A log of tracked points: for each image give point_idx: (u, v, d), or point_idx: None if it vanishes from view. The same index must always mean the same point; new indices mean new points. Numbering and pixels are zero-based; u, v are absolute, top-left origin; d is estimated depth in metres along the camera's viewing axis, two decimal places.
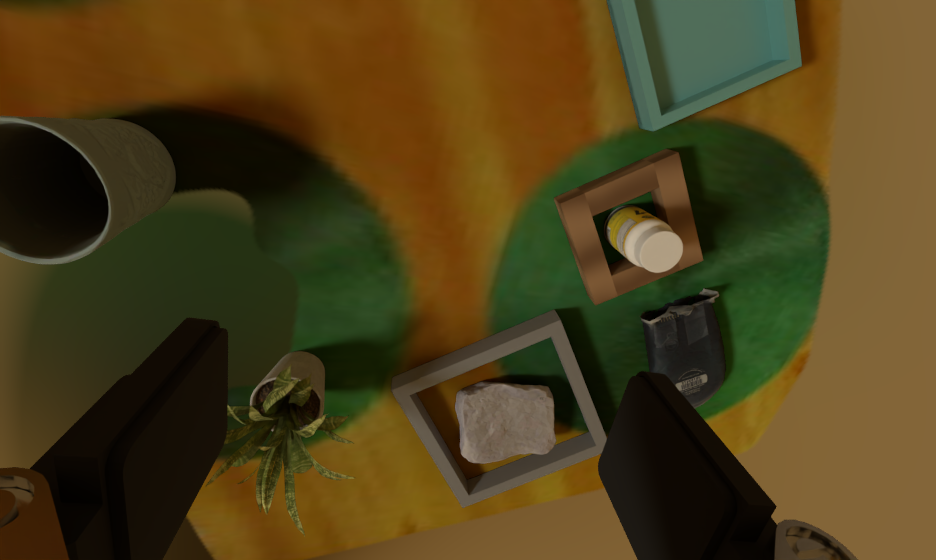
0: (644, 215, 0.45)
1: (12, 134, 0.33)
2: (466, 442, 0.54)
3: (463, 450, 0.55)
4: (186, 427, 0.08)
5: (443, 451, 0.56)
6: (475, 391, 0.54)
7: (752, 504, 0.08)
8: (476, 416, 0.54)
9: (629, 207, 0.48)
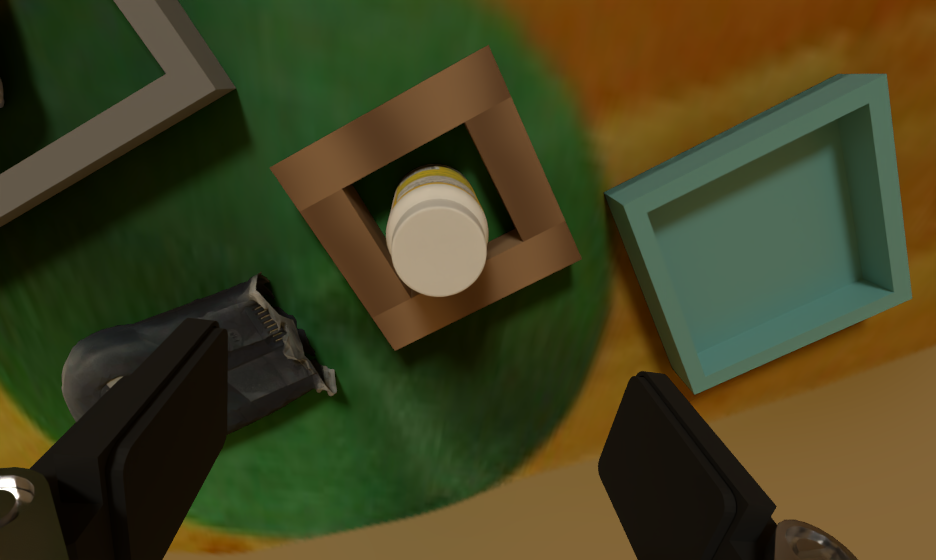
0: None
1: None
2: None
3: None
4: (186, 427, 0.08)
5: None
6: None
7: (752, 504, 0.08)
8: None
9: None
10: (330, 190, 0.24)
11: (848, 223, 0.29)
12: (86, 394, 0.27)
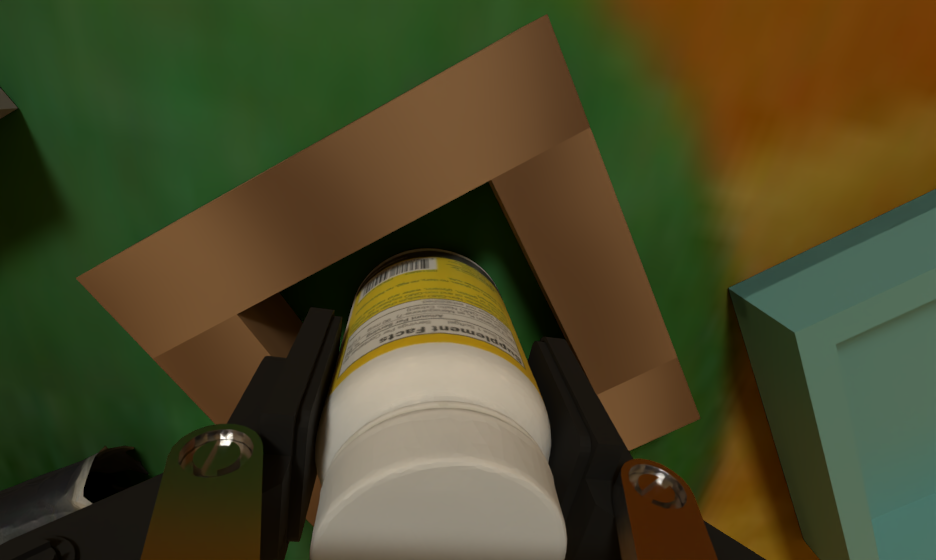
0: None
1: None
2: None
3: None
4: (324, 400, 0.10)
5: None
6: None
7: (603, 444, 0.08)
8: None
9: None
10: (213, 317, 0.12)
11: None
12: None
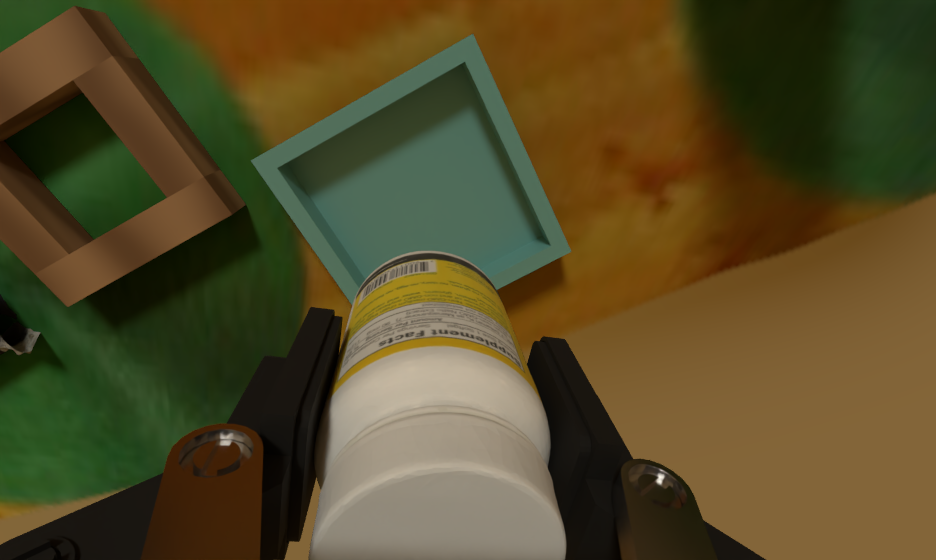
0: None
1: None
2: None
3: None
4: (324, 399, 0.10)
5: None
6: None
7: (603, 444, 0.08)
8: None
9: None
10: None
11: (511, 182, 0.31)
12: None
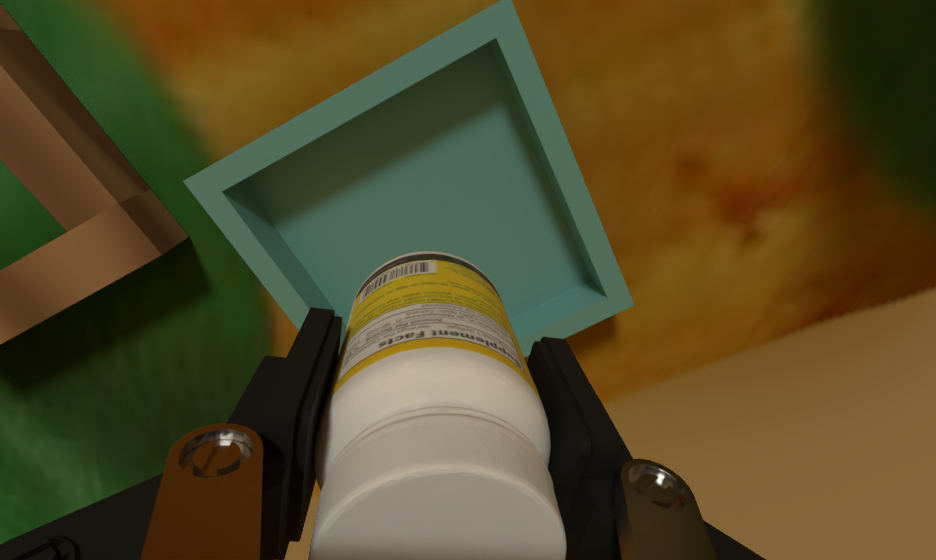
0: None
1: None
2: None
3: None
4: (324, 399, 0.10)
5: None
6: None
7: (603, 444, 0.08)
8: None
9: None
10: None
11: (552, 208, 0.22)
12: None
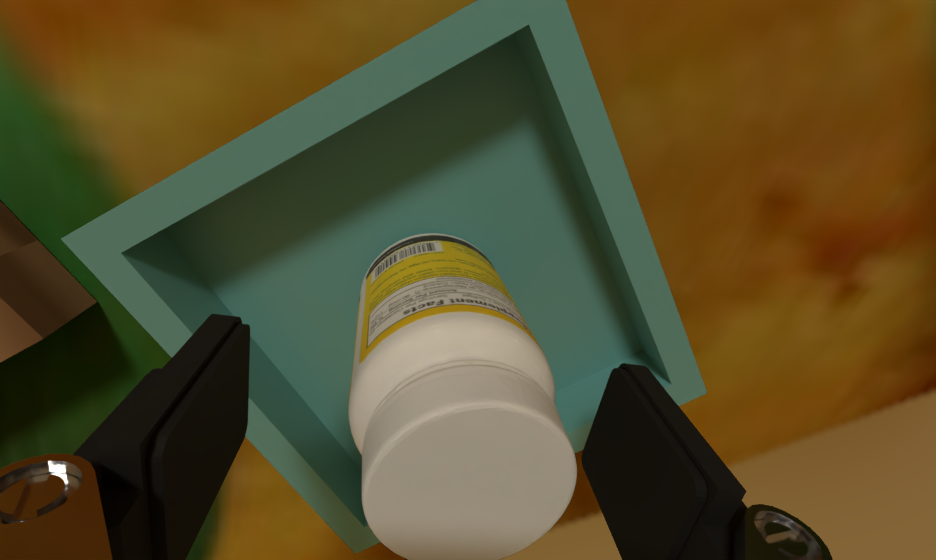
0: None
1: None
2: None
3: None
4: (214, 418, 0.08)
5: None
6: None
7: (722, 489, 0.08)
8: None
9: None
10: None
11: (595, 261, 0.16)
12: None
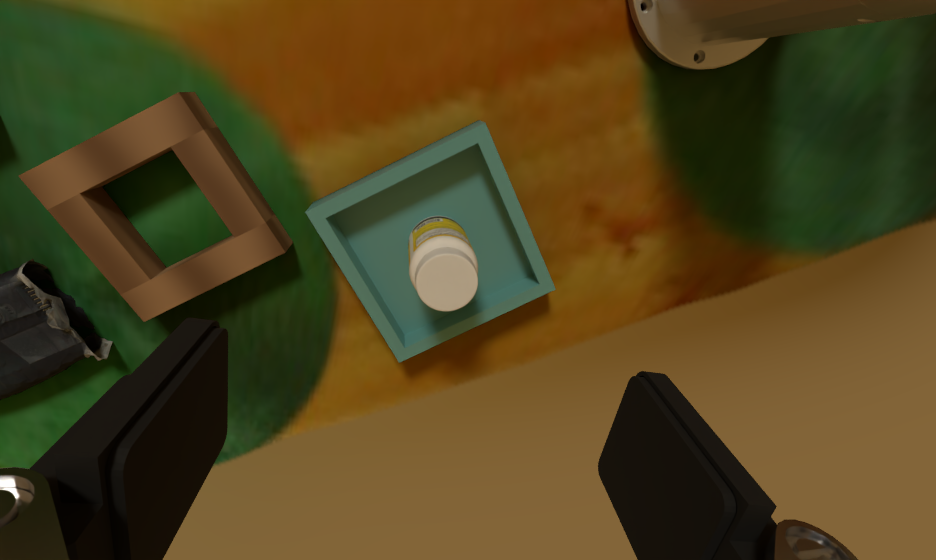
0: None
1: None
2: None
3: None
4: (186, 427, 0.08)
5: None
6: None
7: (752, 504, 0.08)
8: None
9: None
10: (70, 194, 0.32)
11: (509, 231, 0.38)
12: None
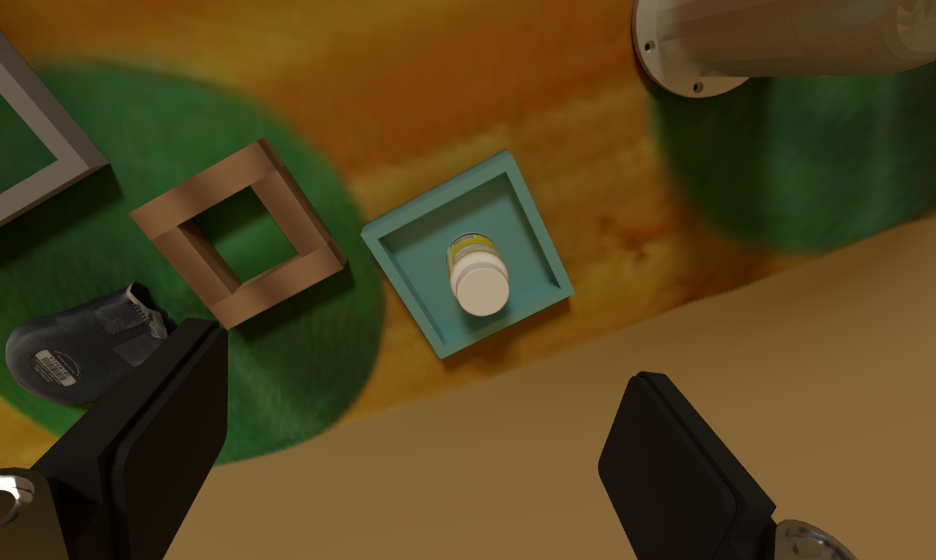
0: None
1: None
2: None
3: None
4: (186, 427, 0.08)
5: None
6: None
7: (752, 504, 0.08)
8: None
9: None
10: (169, 227, 0.38)
11: (533, 243, 0.43)
12: (21, 362, 0.41)
